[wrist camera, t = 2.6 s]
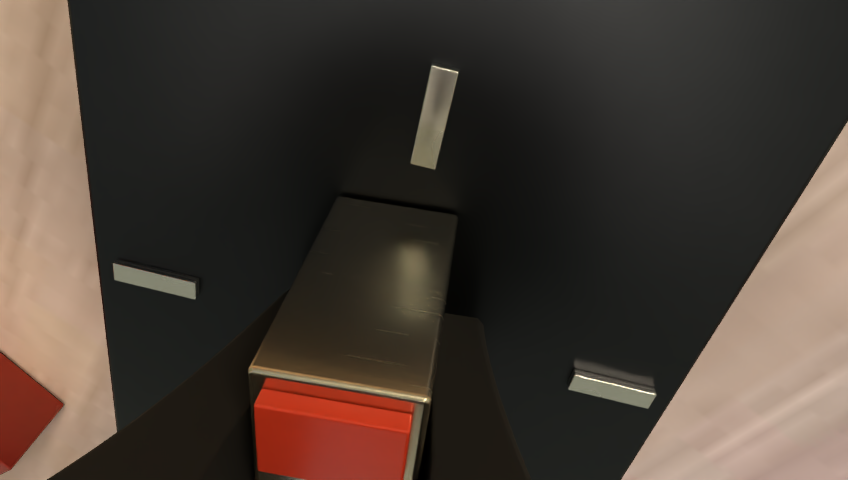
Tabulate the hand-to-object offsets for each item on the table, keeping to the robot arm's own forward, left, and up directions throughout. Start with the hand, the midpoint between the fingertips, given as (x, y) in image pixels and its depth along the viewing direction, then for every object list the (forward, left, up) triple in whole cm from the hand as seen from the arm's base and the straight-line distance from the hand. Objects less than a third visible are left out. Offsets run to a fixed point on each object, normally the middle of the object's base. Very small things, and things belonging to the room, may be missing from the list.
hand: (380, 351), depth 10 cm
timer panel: (0, 0, -3) cm, 3 cm away
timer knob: (0, 0, 0) cm, 0 cm away
